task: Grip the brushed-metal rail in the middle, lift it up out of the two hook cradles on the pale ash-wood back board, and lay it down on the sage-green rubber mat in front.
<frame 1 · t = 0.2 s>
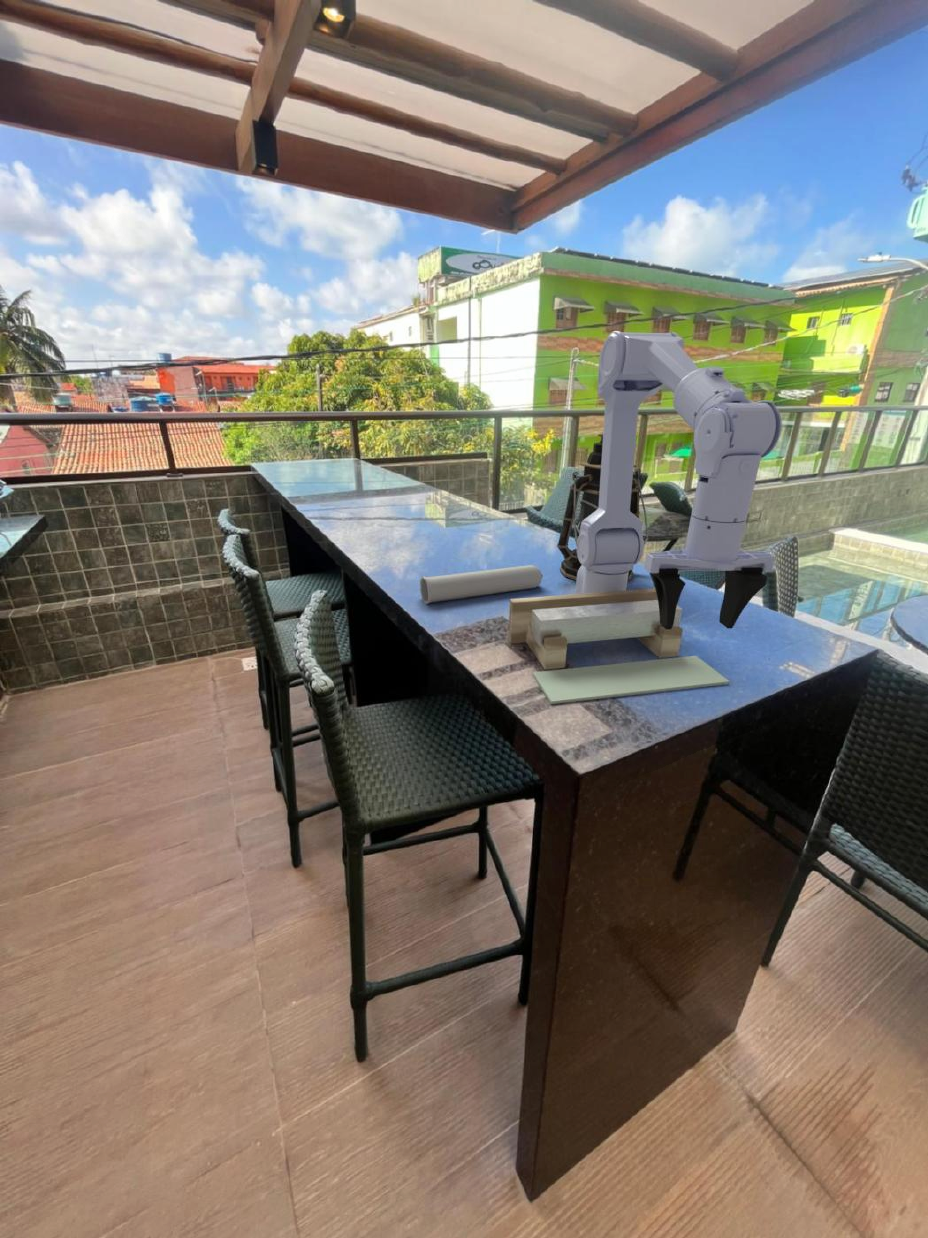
hand: (695, 625, 63), 10 cm above the countertop, tool pointing down, fingers open, 7 cm apart
rail: (604, 633, 76), point 3 cm above the countertop, touching rail stand
mat: (629, 679, 70), on the countertop
lantern: (595, 574, 112), on the countertop
tube: (484, 595, 101), on the countertop
rail stand: (602, 651, 78), on the countertop
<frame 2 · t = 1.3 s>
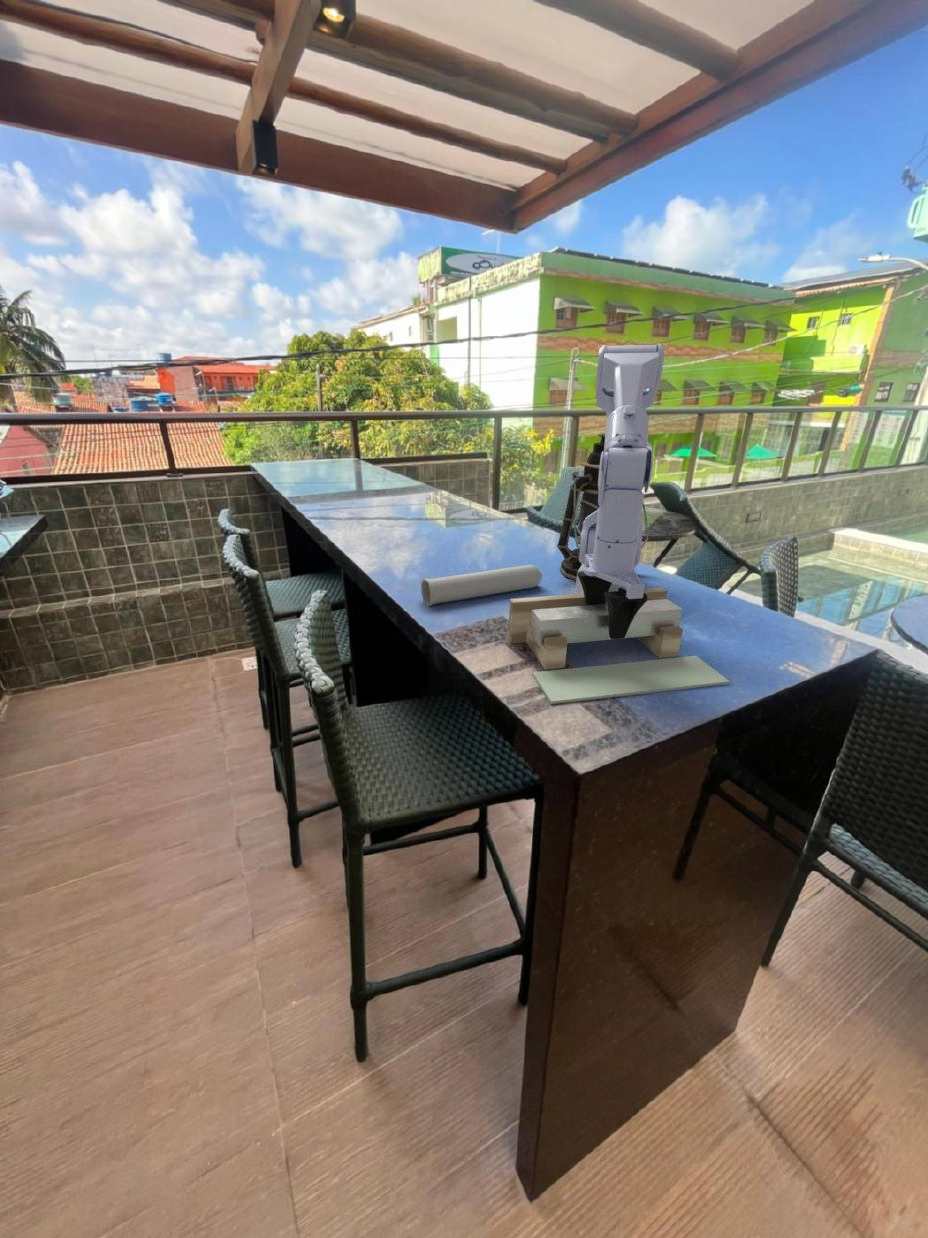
hand: (605, 626, 76), 4 cm above the countertop, tool pointing down, fingers open, 7 cm apart
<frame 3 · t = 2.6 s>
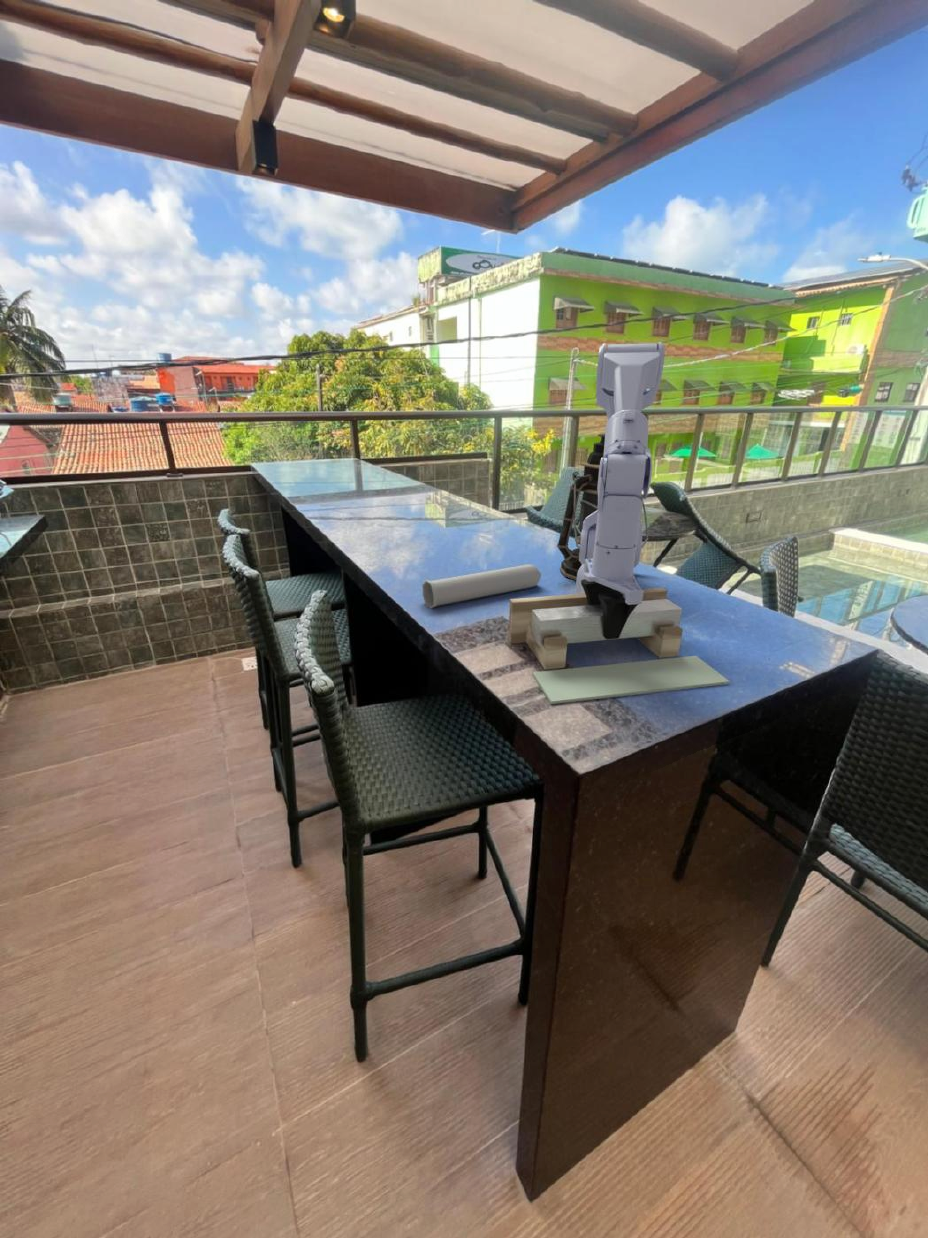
hand: (604, 631, 76), 3 cm above the countertop, tool pointing down, fingers closed on rail, 4 cm apart
rail: (604, 633, 76), point 3 cm above the countertop, touching gripper, rail stand
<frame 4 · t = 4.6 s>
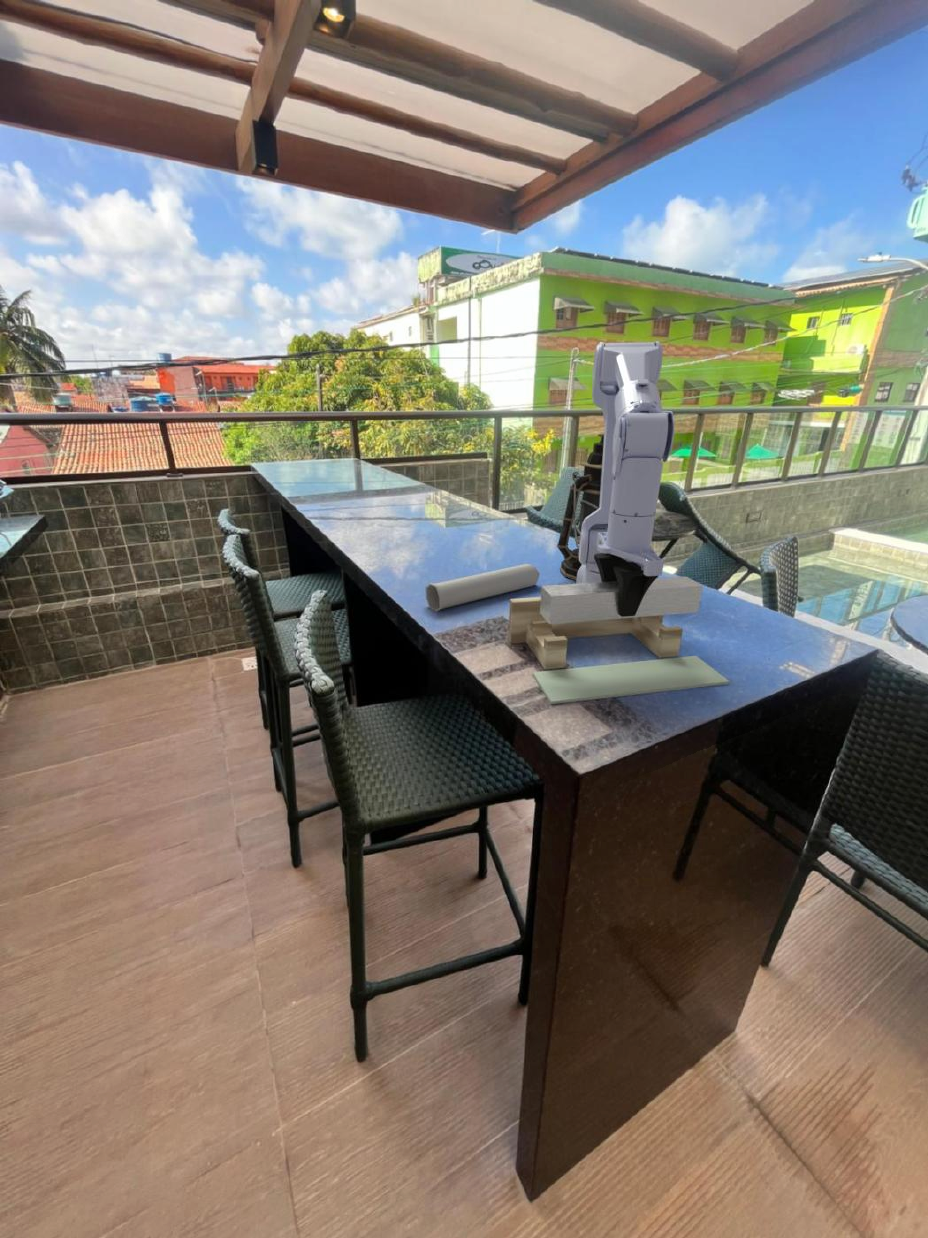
hand: (619, 609, 71), 9 cm above the countertop, tool pointing down, fingers closed on rail, 4 cm apart
rail: (618, 612, 71), point 8 cm above the countertop, touching gripper
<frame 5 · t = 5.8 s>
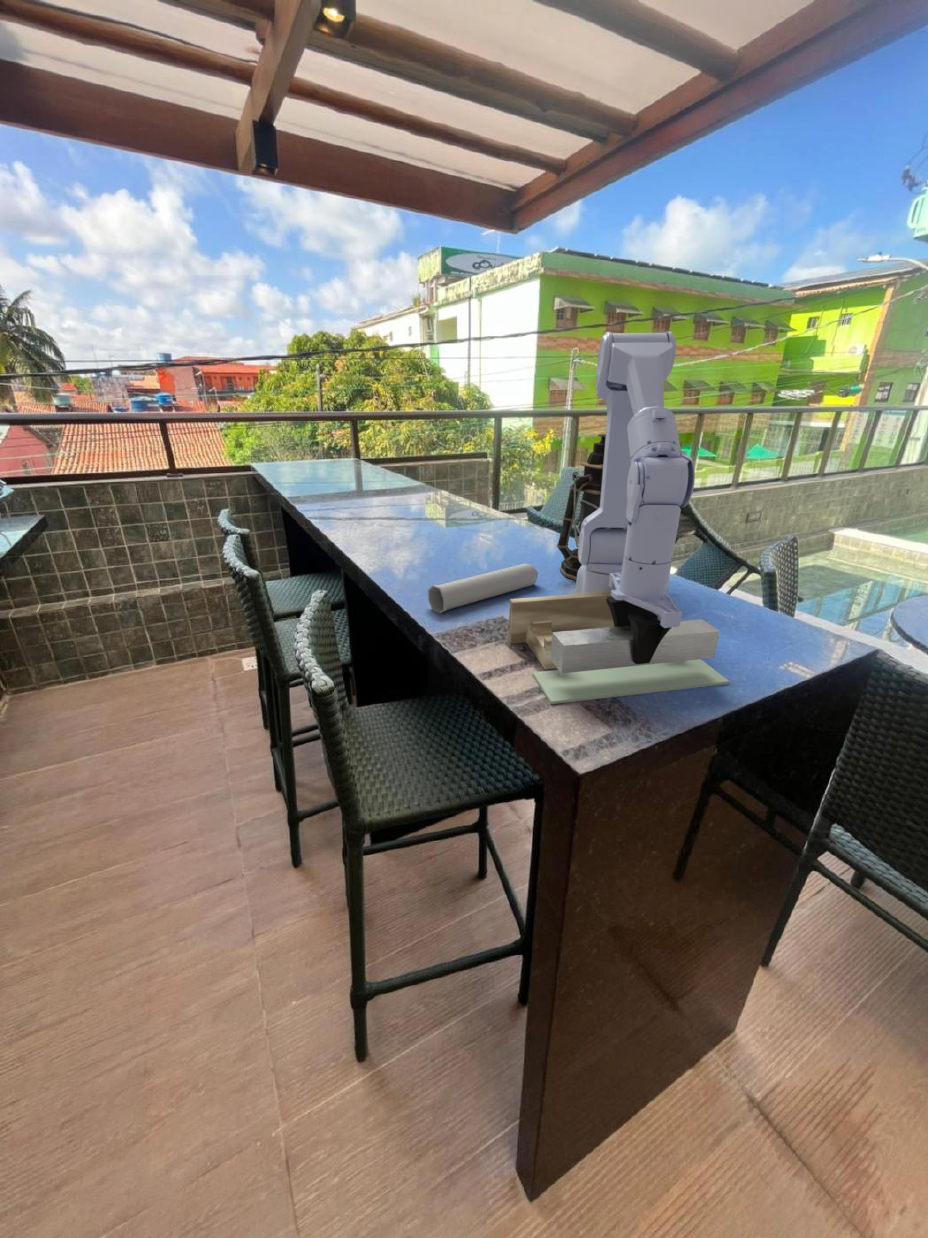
hand: (632, 654, 68), 4 cm above the countertop, tool pointing down, fingers closed on rail, 4 cm apart
rail: (632, 658, 69), point 3 cm above the countertop, touching gripper
when the fingers open (3 cm above the countertop, at t = 6.9 s): rail drops 2 cm, resting on mat.
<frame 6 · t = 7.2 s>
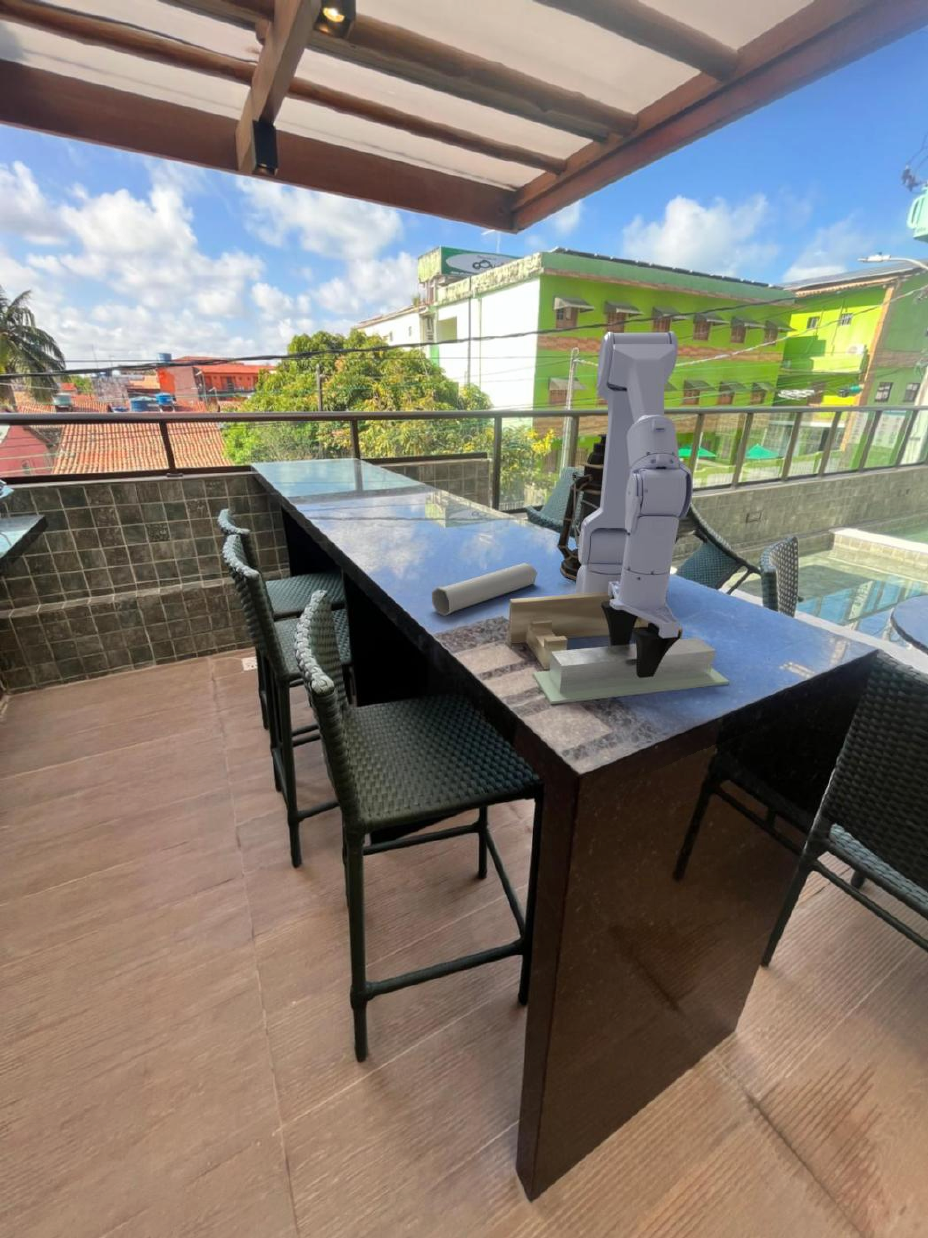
hand: (631, 662, 69), 3 cm above the countertop, tool pointing down, fingers open, 7 cm apart
rail: (629, 676, 70), resting on mat
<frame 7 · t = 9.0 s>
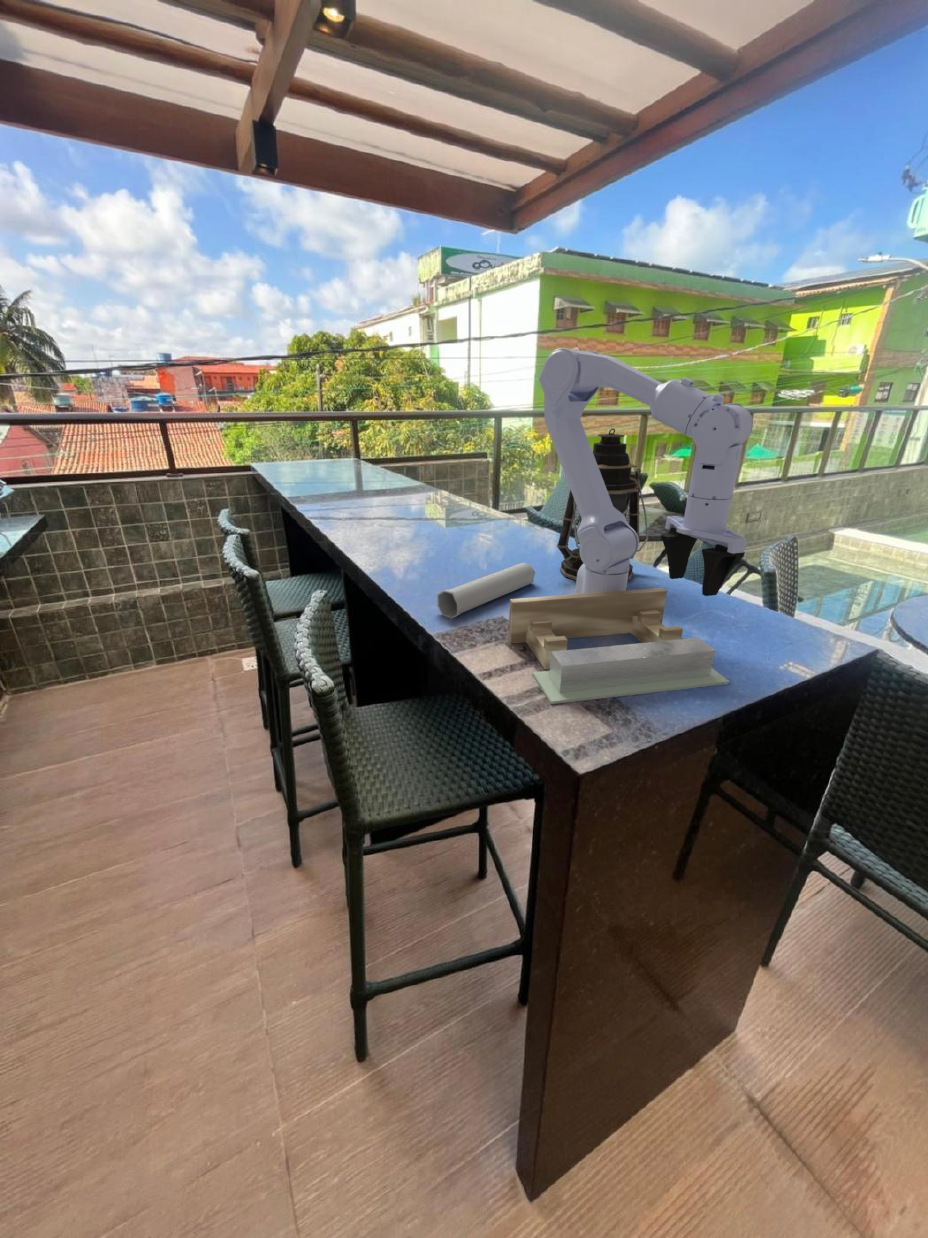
hand: (692, 586, 77), 9 cm above the countertop, tool pointing down, fingers open, 7 cm apart
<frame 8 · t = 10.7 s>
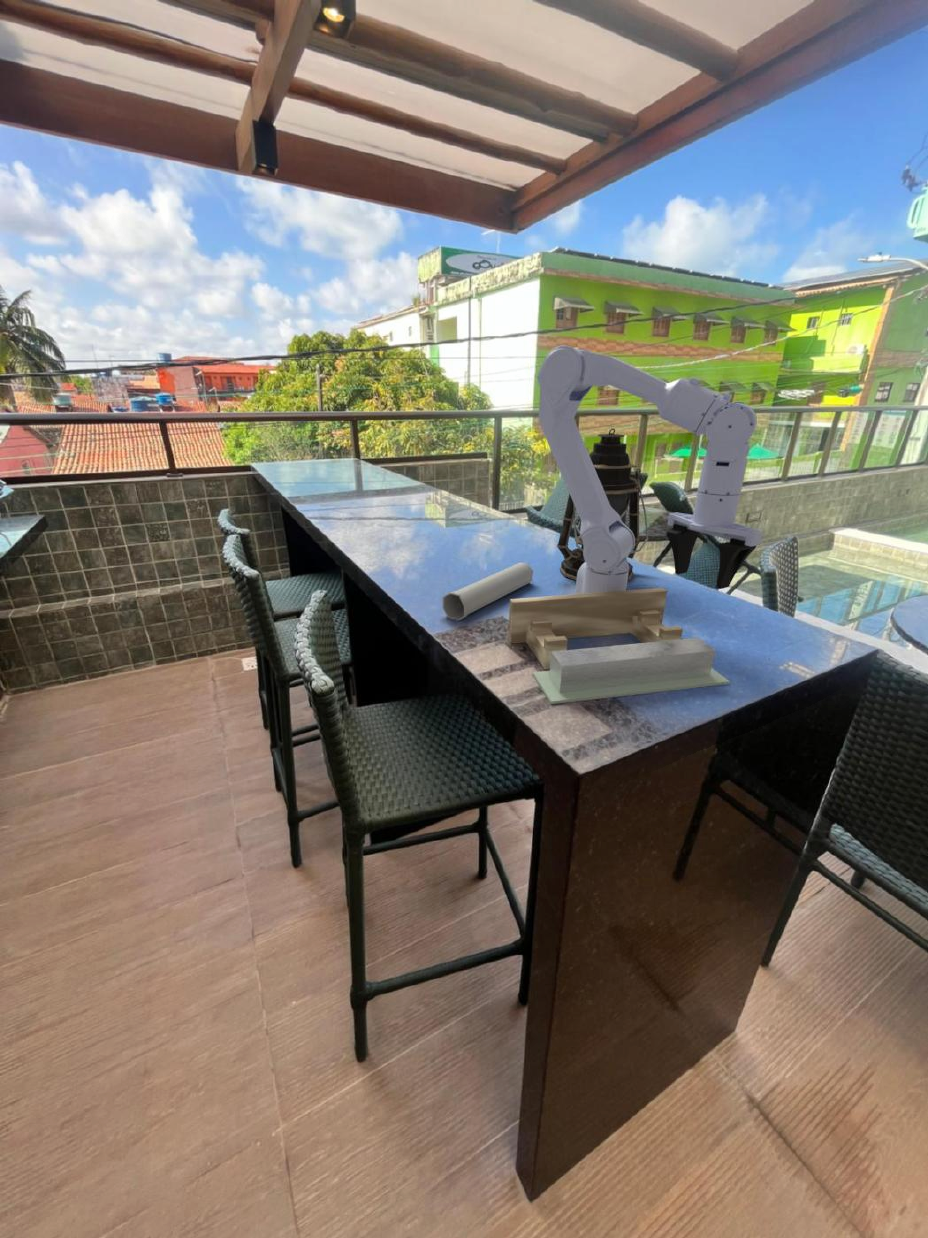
hand: (701, 579, 80), 9 cm above the countertop, tool pointing down, fingers open, 7 cm apart
at the end: rail 0.0 cm off-centre on the mat, point 0.4 cm above the mat's base; rail moved 8.9 cm from its start; the gripper is holding nothing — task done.
